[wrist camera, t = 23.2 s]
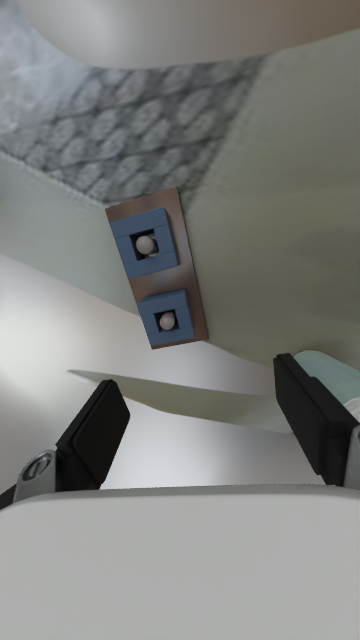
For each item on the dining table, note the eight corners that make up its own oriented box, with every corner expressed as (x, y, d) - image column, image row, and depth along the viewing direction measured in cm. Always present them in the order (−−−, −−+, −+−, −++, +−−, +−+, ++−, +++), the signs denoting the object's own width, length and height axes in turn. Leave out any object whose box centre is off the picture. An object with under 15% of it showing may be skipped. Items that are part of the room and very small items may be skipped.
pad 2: (185, 287, 27) (184, 293, 23) (194, 326, 29) (194, 337, 25) (144, 296, 28) (136, 303, 24) (156, 334, 30) (151, 346, 26)
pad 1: (168, 213, 24) (163, 206, 20) (180, 264, 26) (178, 266, 22) (122, 226, 24) (109, 222, 21) (137, 274, 27) (128, 278, 23)
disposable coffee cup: (276, 390, 34) (333, 485, 20) (273, 341, 31) (340, 416, 17) (336, 383, 33) (442, 479, 19) (341, 331, 29) (476, 403, 15)
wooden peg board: (177, 189, 24) (172, 166, 17) (208, 335, 31) (212, 357, 25) (109, 211, 25) (80, 197, 19) (153, 345, 33) (144, 369, 26)
